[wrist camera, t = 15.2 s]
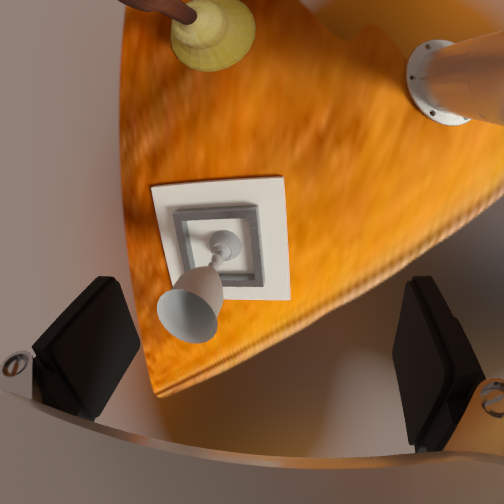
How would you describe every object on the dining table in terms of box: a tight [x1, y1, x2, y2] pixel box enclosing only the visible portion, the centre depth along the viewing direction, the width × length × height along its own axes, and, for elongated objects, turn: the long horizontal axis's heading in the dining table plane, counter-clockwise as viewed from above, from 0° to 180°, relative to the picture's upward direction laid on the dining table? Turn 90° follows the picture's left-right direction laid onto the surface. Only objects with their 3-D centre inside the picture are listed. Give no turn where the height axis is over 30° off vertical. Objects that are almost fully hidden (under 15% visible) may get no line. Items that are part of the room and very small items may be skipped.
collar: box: [173, 205, 265, 287], centre depth 48 cm, size 12×12×2 cm
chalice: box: [157, 230, 242, 343], centre depth 41 cm, size 7×7×18 cm
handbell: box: [118, 0, 256, 71], centre depth 25 cm, size 12×12×25 cm
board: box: [151, 176, 290, 300], centre depth 50 cm, size 20×20×1 cm
